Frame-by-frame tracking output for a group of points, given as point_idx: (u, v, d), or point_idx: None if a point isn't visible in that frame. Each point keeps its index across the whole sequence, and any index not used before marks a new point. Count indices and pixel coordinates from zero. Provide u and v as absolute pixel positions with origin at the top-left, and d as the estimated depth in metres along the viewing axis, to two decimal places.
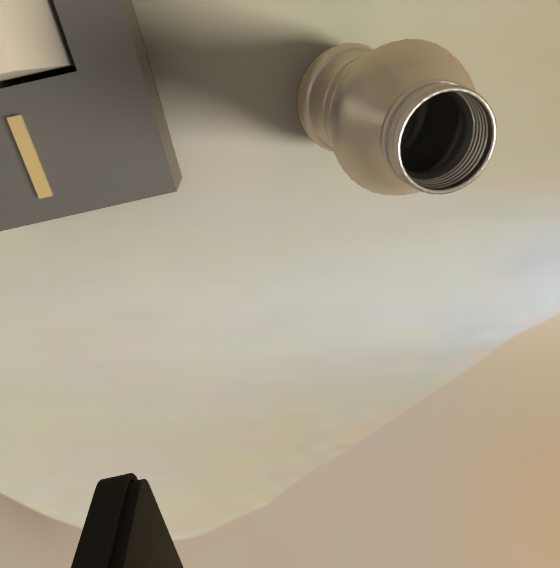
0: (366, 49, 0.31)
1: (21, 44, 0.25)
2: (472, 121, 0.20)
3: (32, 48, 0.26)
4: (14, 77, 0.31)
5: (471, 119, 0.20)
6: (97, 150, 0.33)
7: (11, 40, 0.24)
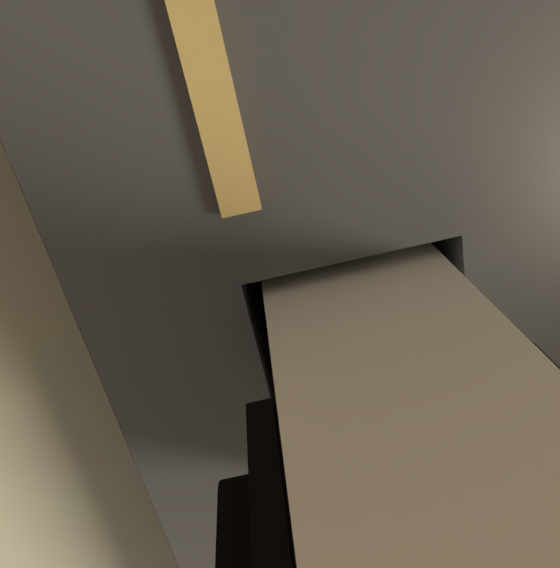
0: None
1: None
2: None
3: None
4: None
5: None
6: None
7: None
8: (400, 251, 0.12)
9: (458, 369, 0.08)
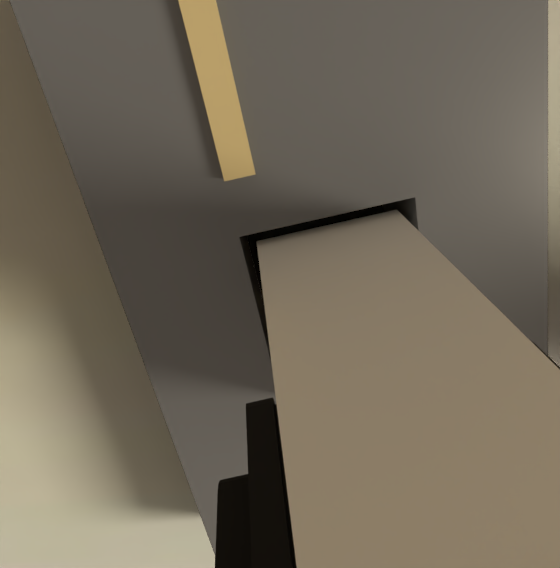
0: None
1: None
2: None
3: None
4: None
5: None
6: None
7: None
8: (400, 251, 0.12)
9: (459, 370, 0.08)
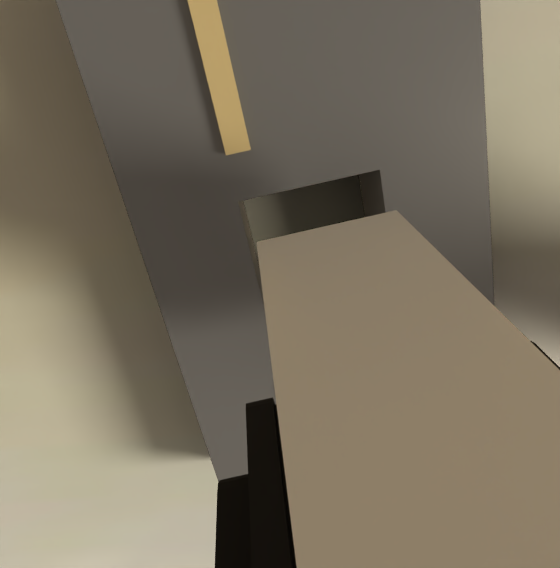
0: None
1: None
2: None
3: None
4: None
5: None
6: None
7: None
8: (400, 252, 0.12)
9: (458, 369, 0.08)
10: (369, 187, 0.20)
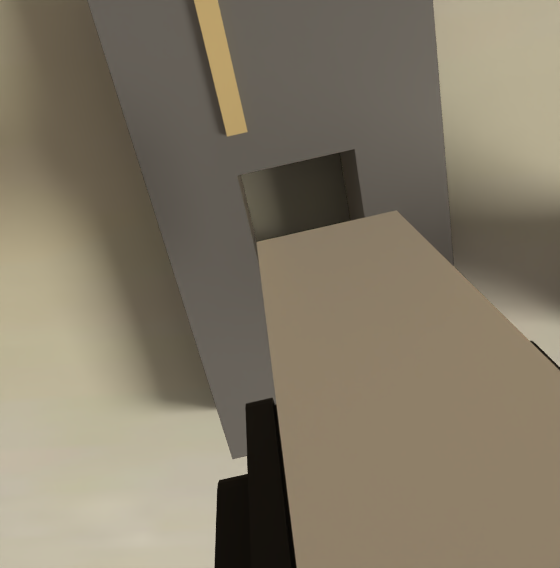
0: None
1: None
2: None
3: None
4: None
5: None
6: None
7: None
8: (400, 252, 0.12)
9: (458, 370, 0.08)
10: (348, 166, 0.24)
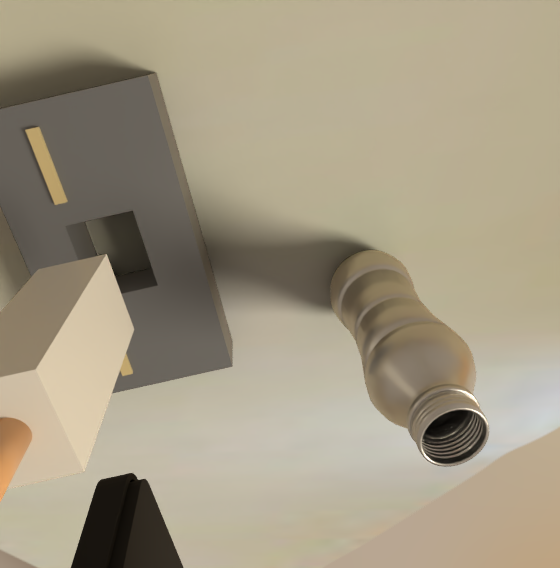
0: (387, 266, 0.40)
1: (87, 419, 0.23)
2: None
3: (95, 404, 0.24)
4: None
5: None
6: (170, 339, 0.41)
7: (79, 431, 0.22)
8: (80, 276, 0.28)
9: (41, 321, 0.23)
10: None
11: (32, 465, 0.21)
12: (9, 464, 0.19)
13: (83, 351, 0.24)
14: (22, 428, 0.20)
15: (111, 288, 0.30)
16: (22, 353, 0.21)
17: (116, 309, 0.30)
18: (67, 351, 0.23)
